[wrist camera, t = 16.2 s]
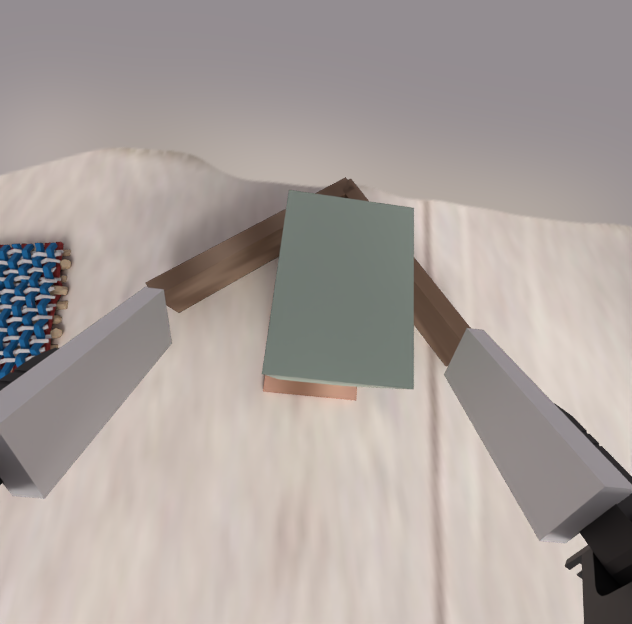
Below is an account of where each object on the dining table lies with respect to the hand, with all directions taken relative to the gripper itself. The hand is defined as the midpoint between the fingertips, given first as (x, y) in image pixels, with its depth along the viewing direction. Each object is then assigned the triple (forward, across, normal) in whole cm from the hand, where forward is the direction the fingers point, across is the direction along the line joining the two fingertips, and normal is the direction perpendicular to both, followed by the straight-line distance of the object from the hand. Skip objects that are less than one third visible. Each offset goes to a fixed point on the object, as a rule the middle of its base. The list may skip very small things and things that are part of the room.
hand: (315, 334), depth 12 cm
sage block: (+8, +1, -5) cm, 9 cm away
